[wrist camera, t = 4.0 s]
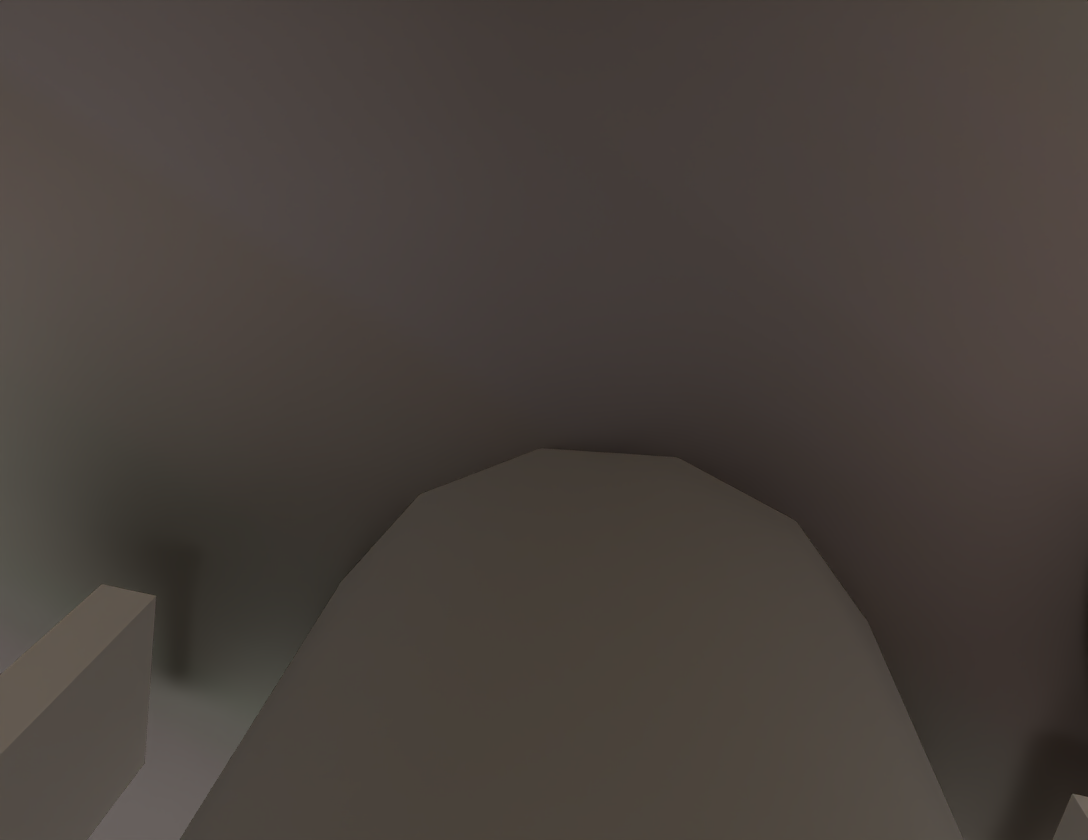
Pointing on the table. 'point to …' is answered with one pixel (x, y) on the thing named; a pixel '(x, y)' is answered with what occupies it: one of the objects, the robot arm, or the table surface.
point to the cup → (584, 677)
